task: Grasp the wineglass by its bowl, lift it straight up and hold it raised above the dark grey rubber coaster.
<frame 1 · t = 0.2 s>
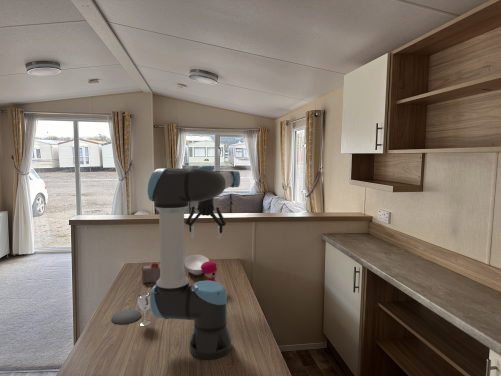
hand: (205, 238, 168), 28 cm above the table, fingers open, 13 cm apart
bowl: (196, 271, 202), on the table
toy: (209, 290, 174), on the table
wineglass: (144, 323, 138), on the table
coaster: (126, 317, 143), on the table
food item: (154, 281, 187), on the table
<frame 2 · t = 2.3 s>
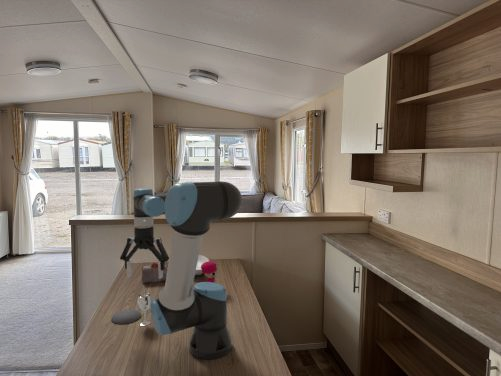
hand: (145, 277, 138), 19 cm above the table, fingers open, 13 cm apart
nothing on the table moved.
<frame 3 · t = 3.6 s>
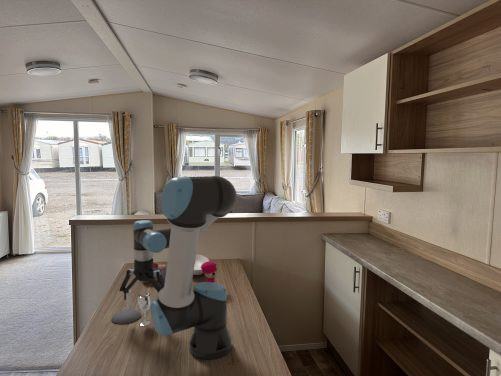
hand: (144, 308, 138), 6 cm above the table, fingers open, 13 cm apart
nothing on the table moved.
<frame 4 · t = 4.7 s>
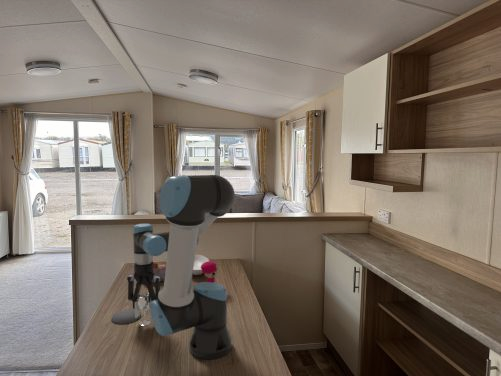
hand: (144, 316, 138), 3 cm above the table, fingers closed on wineglass, 6 cm apart
wineglass: (144, 323, 138), on the table, touching gripper
everything else where it was.
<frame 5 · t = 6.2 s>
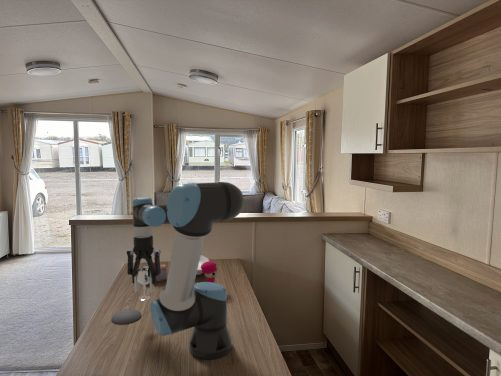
hand: (144, 291, 137), 14 cm above the table, fingers closed on wineglass, 6 cm apart
wineglass: (144, 298, 137), point 11 cm above the table, touching gripper
everything else where it was.
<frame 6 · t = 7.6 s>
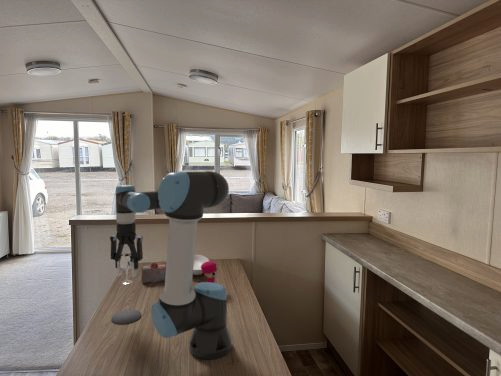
hand: (127, 275, 142), 18 cm above the table, fingers closed on wineglass, 6 cm apart
wineglass: (127, 282, 142), point 15 cm above the table, touching gripper
everything else where it was.
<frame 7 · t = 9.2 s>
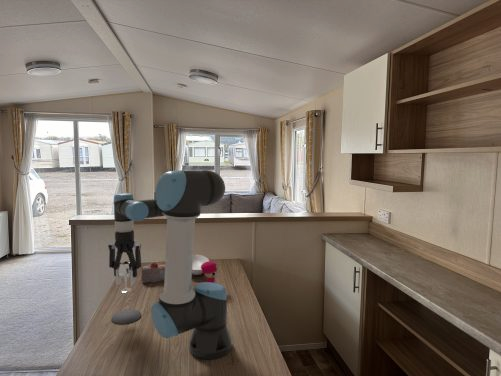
hand: (125, 283, 142), 15 cm above the table, fingers closed on wineglass, 6 cm apart
wineglass: (126, 290, 142), point 12 cm above the table, touching gripper
everything else where it was.
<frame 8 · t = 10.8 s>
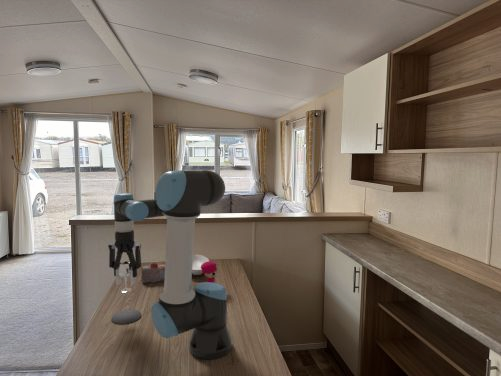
hand: (125, 283, 142), 15 cm above the table, fingers closed on wineglass, 6 cm apart
wineglass: (126, 290, 142), point 12 cm above the table, touching gripper
everything else where it was.
at the end: the gripper is holding wineglass; wineglass point 11.7 cm above the table; wineglass 0.0 cm from the coaster (horizontally) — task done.
